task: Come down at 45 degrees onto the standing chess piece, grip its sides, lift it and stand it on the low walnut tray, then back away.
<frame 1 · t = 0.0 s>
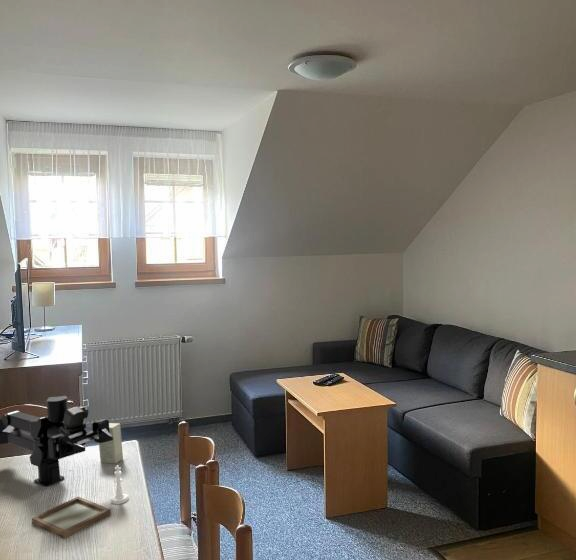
hand: (98, 443, 161), 17 cm above the table, tool horizontal, fingers open, 9 cm apart
chess piece: (119, 500, 163), on the table
skincare box: (111, 461, 191), on the table
walnut tray: (71, 519, 152), on the table
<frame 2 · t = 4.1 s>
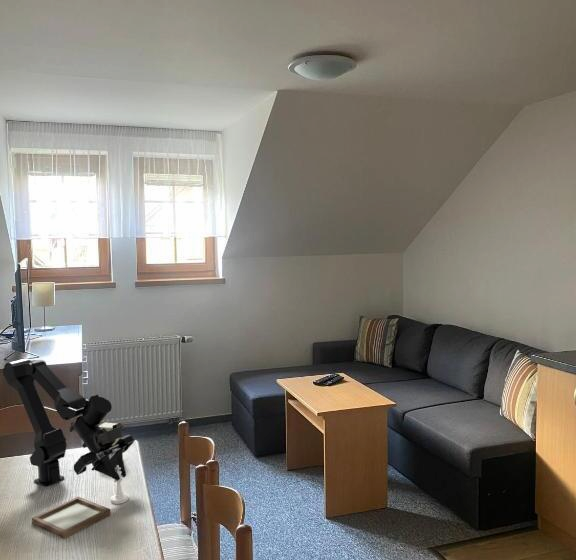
hand: (121, 477, 161), 7 cm above the table, tool tilted 45°, fingers closed on chess piece
chess piece: (119, 500, 163), on the table, touching gripper
everything else where it was.
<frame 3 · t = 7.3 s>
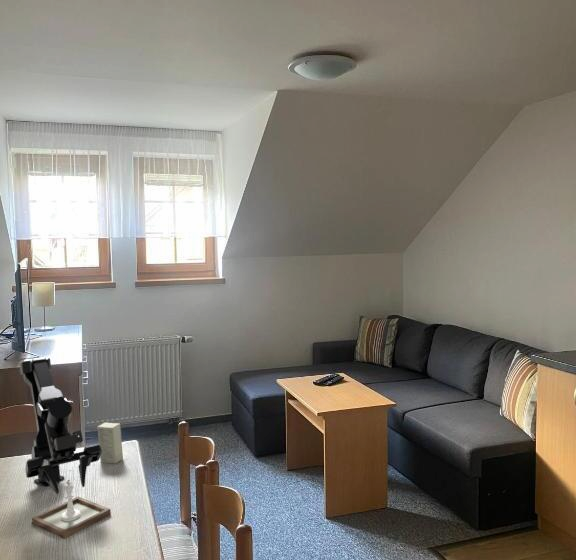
hand: (70, 489, 150), 9 cm above the table, tool tilted 45°, fingers open, 6 cm apart
chess piece: (71, 517, 152), point 1 cm above the table, touching walnut tray
everything else where it was.
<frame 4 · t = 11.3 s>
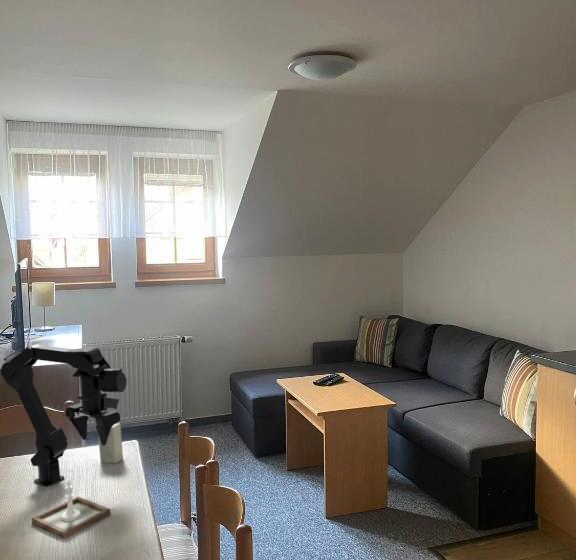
hand: (94, 442, 172), 13 cm above the table, tool pointing down, fingers open, 9 cm apart
nothing on the table moved.
at the end: chess piece inside the target area on the walnut tray (0.2 cm from its centre), point 0.5 cm above the walnut tray's base; chess piece tilted 0°; the gripper is holding nothing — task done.
